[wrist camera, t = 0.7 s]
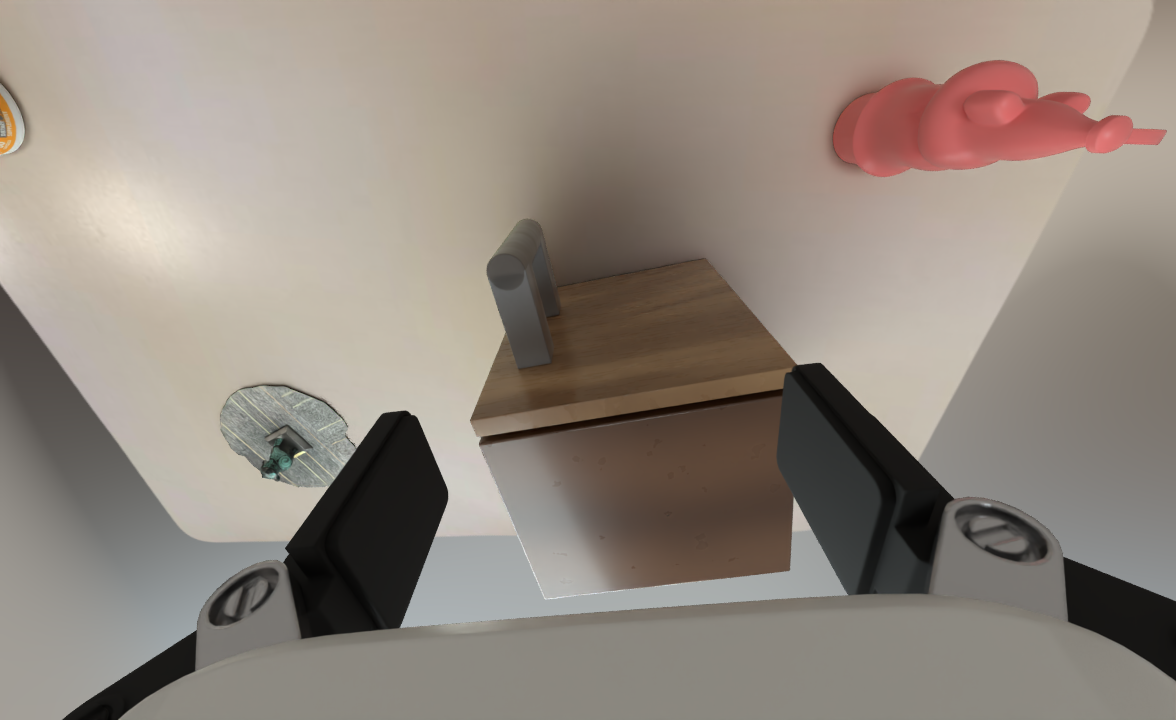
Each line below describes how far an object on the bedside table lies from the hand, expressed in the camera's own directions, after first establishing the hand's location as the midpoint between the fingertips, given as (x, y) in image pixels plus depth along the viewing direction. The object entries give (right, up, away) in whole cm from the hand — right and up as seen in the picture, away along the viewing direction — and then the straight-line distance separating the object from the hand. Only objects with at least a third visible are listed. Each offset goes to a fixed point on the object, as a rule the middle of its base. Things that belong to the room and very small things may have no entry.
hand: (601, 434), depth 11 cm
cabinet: (+3, +2, +24) cm, 24 cm away
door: (+1, +10, +19) cm, 22 cm away
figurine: (+17, +17, +16) cm, 29 cm away
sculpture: (-28, -5, +29) cm, 41 cm away
